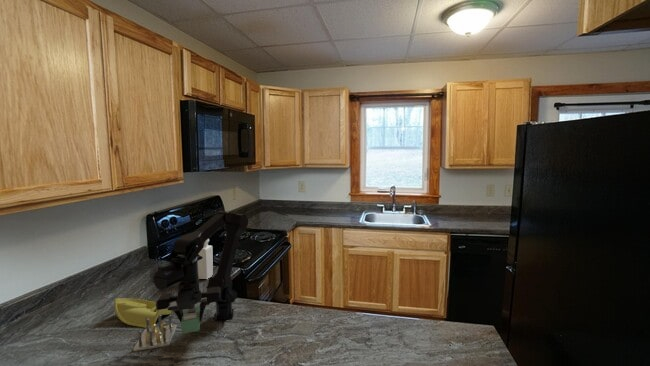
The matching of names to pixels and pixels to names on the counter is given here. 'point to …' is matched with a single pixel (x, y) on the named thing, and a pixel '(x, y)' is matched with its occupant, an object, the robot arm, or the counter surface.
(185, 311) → the green block
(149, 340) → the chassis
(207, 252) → the white peg figure
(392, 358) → the counter surface
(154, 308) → the plastic component
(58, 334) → the counter surface
